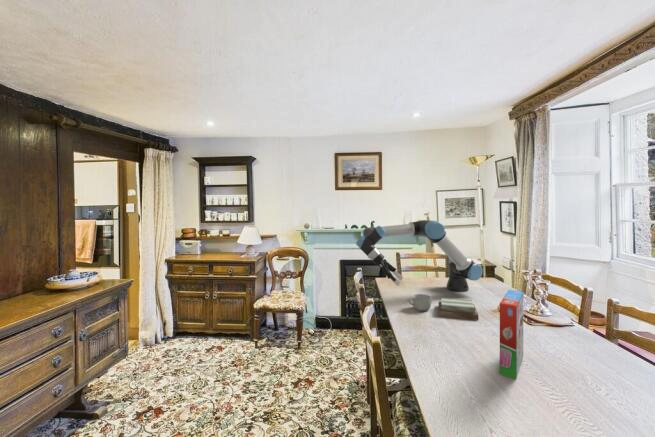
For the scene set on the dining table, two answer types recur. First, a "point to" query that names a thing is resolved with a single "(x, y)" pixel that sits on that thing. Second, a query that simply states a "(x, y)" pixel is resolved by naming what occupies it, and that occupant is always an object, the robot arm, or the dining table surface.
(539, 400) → the dining table surface
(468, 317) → the block stand
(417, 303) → the teacup
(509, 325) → the game box
